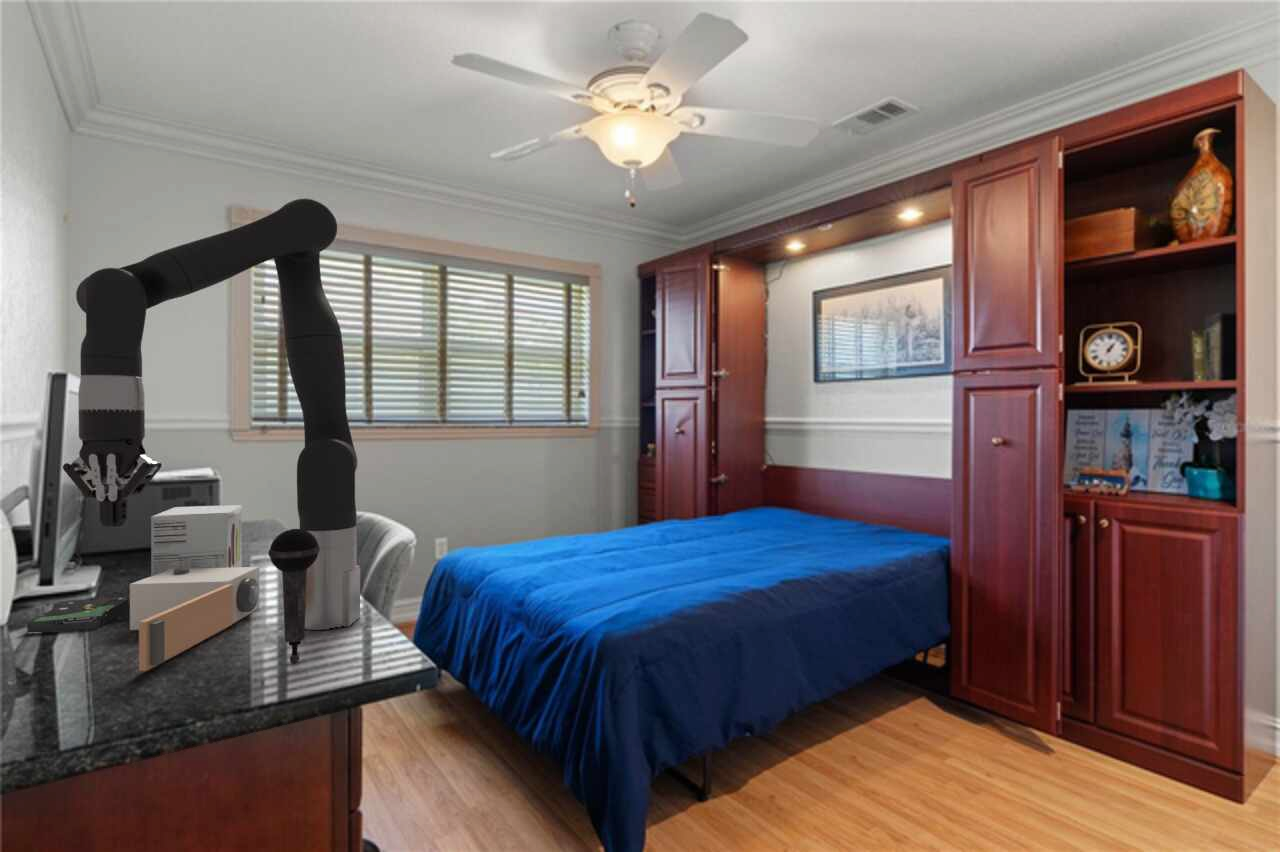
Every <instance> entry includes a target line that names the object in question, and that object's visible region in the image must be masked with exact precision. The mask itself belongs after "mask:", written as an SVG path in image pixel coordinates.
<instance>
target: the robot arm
mask: <svg viewBox="0 0 1280 852" xmlns="http://www.w3.org/2000/svg"><path fill="white" fill-rule="evenodd" d="M337 234H338V222H337V219H336V217H335V215H334V214H333V212H332V211H331V209H330V208H328V206H327V205H325V204H324V203H322V202H320V201H318V200H315V199H313V198H297V199H293V200H291V201H289V202H287V203H285V204H284V205H283V206H281V207H280V208H279V209H277V210H276V211H274V212H272V213H270V214H269V215H267V216H264V217H262V218H260V219H257V220H255V221H252V222H250V223H248V224H245V225H242V226H239V227H236V228H234V229H231V230H230V229H229V230H228V231H227V230H226V231H223V232H220V233H217V234H214V235H211V236H206V237H204V238H201V239H198V240H194V241H190V242H186V243H183V244H181V245H178V246H174V247H172V248H168V249H166V250H163V251H159V252H157V253H154V254H152V255H150V256H147V257H146V258H145V259H143V260H141V261H138V262H135V263H132V264H129V265H125V266H122V267H105V268H101V269H98V270H96V271H94V272H92V273H91V274H90V275H88V276H87V277H85V278H84V279H83V280H82V281H81V282H80V283H79V285H78V287H77V289H76V291H75V293H76V295H75V297H76V303H77V305H78V306H79V308H80V309H81V311H82V312H83V313H85V336H84V338H83V339H82V342H81V346H80V358H79V359H80V380H79V386H78V396H77V397H78V398H77V399H78V438H79V439H80V440H81V442H82V445H81V447H80V450H79V452H78V455H79V456H78V457H77V458H76V459H75V460H73V461H72V462H66V463H64V464H63V466H62V470H63V471H64V472H65V473H66V475H68V477H69V478H70V479H71V481H72V482H73V483H74V484H75V486H76V487H77V488H78V490H80V491H81V493H82V494H83V496H85V497H86V498H93V499H96V501H98V502H99V521H100V523H101V524H102V527H104V528H117V527H121V526H123V525H124V524H125V522H126V521H127V518H128V499H130V498H132V497H134V496H139V495H141V494H142V493H143V491H144V490H145V488H146V487H147V486H148V485H149V484H150V482H152V480H153V479H154V477H155V476H156V475H157V473H158V472H159V471H160V469H161V468H162V462H161V461H153V460H152V459H151V458H150V457H147V455H146V453H147V451H146V449H145V447H144V445H143V440H144V438H145V435H146V434H145V433H146V430H145V429H146V427H145V425H146V423H145V422H146V421H145V420H146V419H145V414H146V413H145V390H144V389H145V388H144V383H143V354H142V341H143V334H144V329H145V325H146V314H147V310H148V309H150V308H152V307H155V306H158V305H160V304H162V303H164V302H167V301H169V300H170V301H171V300H173V299H178V298H182V297H184V296H188V295H190V294H193V293H196V292H199V291H201V290H204V289H206V288H209V287H213V286H214V285H217V284H219V283H222V282H224V281H226V280H228V279H231V278H233V277H235V276H237V275H239V274H241V273H243V272H245V271H247V270H249V269H251V268H253V267H255V266H256V267H257V266H258V265H260V264H262V263H265V262H267V261H270V260H274V264H275V269H276V274H277V278H278V282H279V290H280V300H281V311H282V313H281V314H282V320H283V329H284V330H283V331H284V341H285V351H286V359H287V363H288V368H289V373H290V377H291V380H292V383H293V386H294V390H295V393H296V395H297V398H298V402H299V405H300V409H301V411H302V418H303V429H304V447H303V449H302V450H301V451H300V453H299V455H298V458H297V463H296V465H297V466H296V493H297V494H296V498H297V500H296V503H297V514H298V517H299V519H298V521H299V529H302V530H305V531H308V532H309V533H311V534H312V535H313V536H314V537H315V538H316V540H317V542H318V546H319V547H320V551H319V553H318V556H317V558H316V560H315V562H314V563H313V564H312V565H311V566H310V567H309V568H308V569H307V577H306V606H305V630H307V631H308V630H309V631H310V630H311V631H321V630H324V629H325V630H331V629H330V628H333V629H336V628H335V627H338V628H341V627H340V626H344V627H351V626H352V625H353V624H354V623H355V622H356V621H357V620H358V619H359V618H360V617H361V566H360V565H358V564H357V507H356V470H357V467H358V456H357V453H356V449H355V446H354V445H355V444H354V442H353V438H352V434H351V429H350V425H349V420H348V414H347V413H348V412H347V405H346V403H347V401H346V393H347V392H346V391H347V389H346V388H347V387H346V384H347V383H346V367H345V354H344V346H343V337H342V331H341V326H340V323H339V321H338V317H337V316H336V314H335V312H334V310H333V307H332V306H331V304H330V302H329V300H328V298H327V296H326V294H325V291H324V288H323V287H324V286H323V283H322V277H321V276H322V274H321V264H320V263H321V261H320V255H321V254H320V253H321V252H323V251H324V250H327V248H328V247H330V245H332V243H333V242H334V240H335V239H336V236H337ZM352 623H353V624H352ZM351 624H352V625H351ZM350 625H351V626H350Z"/></svg>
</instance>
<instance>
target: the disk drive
mask: <svg viewBox="0 0 1280 852" xmlns="http://www.w3.org/2000/svg"><path fill="white" fill-rule="evenodd" d="M128 610H130V595H129V596H119V597H103V598H95V599H93V600H84V599H80V600H79V599H78V600H77V599H76V600H68V601H66V602H64V603H62V604H60V605H58V606H56V607H54V608H52V609H51V610H48V611H47V612H45V613H42V614H41V615H38V616H37V617H34V618H33V619H30V620H29V621H27V624H26V625H27V627H26V628H27V633H28V632H51V633H60V632H72V631H82V630H83V631H85V630H96V629H97V630H98V629H101V627H103V626H104V625H106V624H108V623H109V622H110V621H111V622H112V620H114V619H116V618H117V617H119V616H120V615H122V614H124V612H127V611H128Z"/></svg>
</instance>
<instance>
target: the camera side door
mask: <svg viewBox="0 0 1280 852" xmlns="http://www.w3.org/2000/svg"><path fill="white" fill-rule="evenodd" d="M233 624H234V623H233V585H225V586H223V587H220V588H218V589H215V590H213V591H211V592H208V593H206V594H204V595H201V596H199V597H197V598H194V599H192V600H190V601H187V602H185V603H182V604H180V605H178V606H175V607H173V608H171V609H168V610H166V611H164V612H161V613H159V614H157V615H154V616H152V617H149V618H147V619H145V620H142V621H140V622H139V630H138V671H139V672H142V671H143V672H145V671H146V672H147V671H149V670H150V669H151V670H152V668H154V667H157V666H159V665H160V664H163V663H164V662H166V661H167V660H169V659H171V658H174V657H175V656H177V655H178V654H180V653H182V652H184V651H186V650H188V649H189V648H192V647H193V646H195V645H197V644H199V643H201V642H203V641H204V640H206V639H208V638H209V637H212V636H214V635H216V634H218V633H220V632H222V631H224V630H225V629H227V628H228V627H230V626H232V625H233Z"/></svg>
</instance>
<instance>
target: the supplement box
mask: <svg viewBox="0 0 1280 852" xmlns="http://www.w3.org/2000/svg"><path fill="white" fill-rule="evenodd" d="M242 512H243V505H242V504H229V505H196V506H195V505H193V506H175V507H174V506H173V507H171V508H169V509H166V510H165V511H162V512H159V513H157V514H154V515H151V517H150V539H151V540H150V542H151V543H150V546H151V547H150V550H151V551H150V553H151V554H150V556H151V557H150V558H151V559H150V560H151V562H150V563H151V566H150V567H151V572H150V573H151V576H154V575H156V574H159V573H162V572H165V571H167V570H170V569H177V568H189V569H196V568H235V567H243V566H242V565H243V563H242V562H243V561H242V558H243V557H242V555H243V553H242V551H243V550H242V549H243V548H242V545H243V543H242V540H243V538H242V537H243V535H242V534H243V533H242V532H243V531H242V529H243V528H242V527H243V526H242V525H243V524H242V521H243V518H242V517H243V516H242V515H243V513H242ZM151 576H150V577H151Z"/></svg>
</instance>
